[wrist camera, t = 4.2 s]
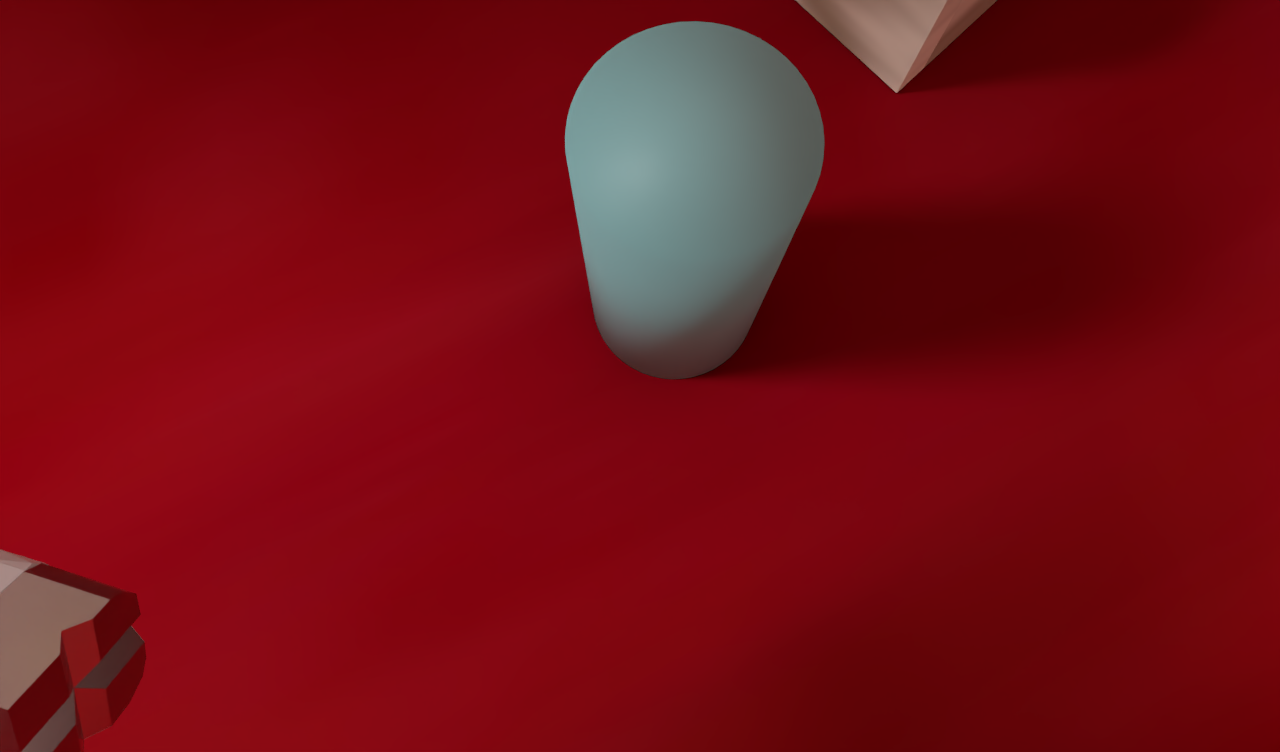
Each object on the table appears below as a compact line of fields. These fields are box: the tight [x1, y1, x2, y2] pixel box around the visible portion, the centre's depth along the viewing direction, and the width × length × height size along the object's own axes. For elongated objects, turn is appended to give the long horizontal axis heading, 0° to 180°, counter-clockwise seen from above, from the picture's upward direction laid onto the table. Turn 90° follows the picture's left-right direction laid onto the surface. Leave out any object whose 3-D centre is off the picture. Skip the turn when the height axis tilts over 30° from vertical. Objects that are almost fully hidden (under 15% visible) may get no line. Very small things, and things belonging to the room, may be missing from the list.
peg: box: [565, 21, 824, 379], centre depth 19 cm, size 4×4×9 cm
